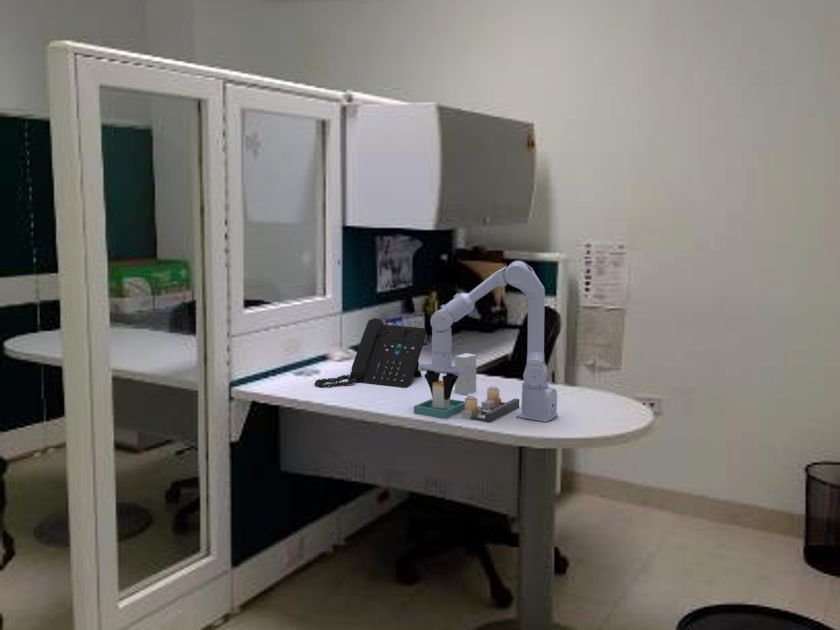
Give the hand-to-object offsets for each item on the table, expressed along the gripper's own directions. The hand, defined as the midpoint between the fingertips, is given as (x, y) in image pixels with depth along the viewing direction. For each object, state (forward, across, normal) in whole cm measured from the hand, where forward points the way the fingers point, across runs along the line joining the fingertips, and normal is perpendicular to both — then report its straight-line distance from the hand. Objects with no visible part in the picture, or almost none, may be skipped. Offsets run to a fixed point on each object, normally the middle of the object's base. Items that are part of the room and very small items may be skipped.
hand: (441, 397), depth 229 cm
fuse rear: (+4, -10, -13) cm, 17 cm away
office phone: (+4, +39, -19) cm, 43 cm away
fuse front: (+4, -10, 0) cm, 11 cm away
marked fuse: (+2, 0, 0) cm, 2 cm away
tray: (+4, 0, 0) cm, 4 cm away
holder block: (+4, -13, -7) cm, 15 cm away
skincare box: (+4, +5, -24) cm, 24 cm away
